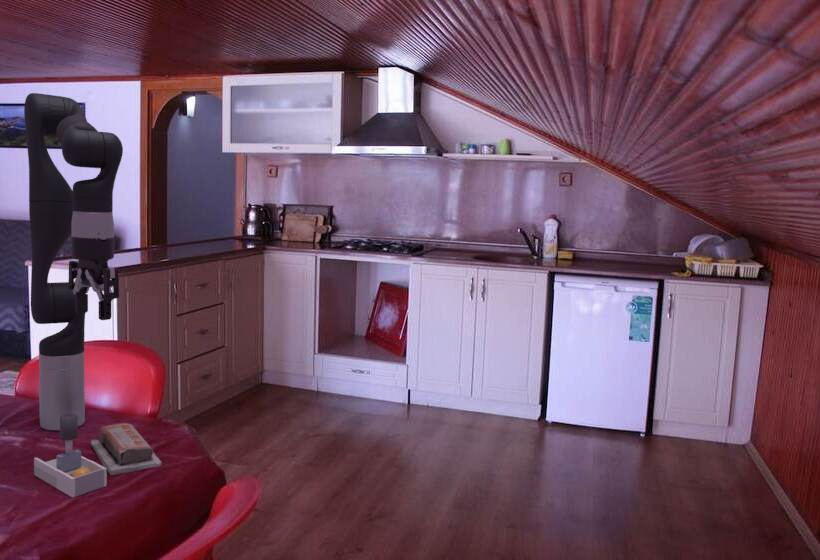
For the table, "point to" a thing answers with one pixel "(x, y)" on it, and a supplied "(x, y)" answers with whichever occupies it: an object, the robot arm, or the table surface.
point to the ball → (80, 472)
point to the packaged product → (123, 449)
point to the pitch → (53, 470)
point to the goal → (82, 480)
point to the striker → (68, 443)
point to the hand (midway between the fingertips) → (93, 316)
